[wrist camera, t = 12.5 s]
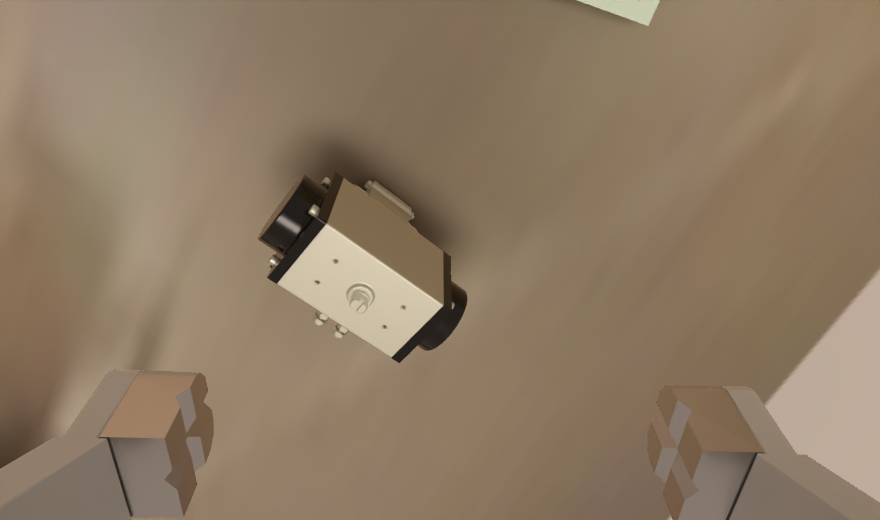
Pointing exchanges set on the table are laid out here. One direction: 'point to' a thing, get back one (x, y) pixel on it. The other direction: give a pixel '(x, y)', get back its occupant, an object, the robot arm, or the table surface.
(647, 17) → the tray
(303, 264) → the pneumatic valve
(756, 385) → the table surface
